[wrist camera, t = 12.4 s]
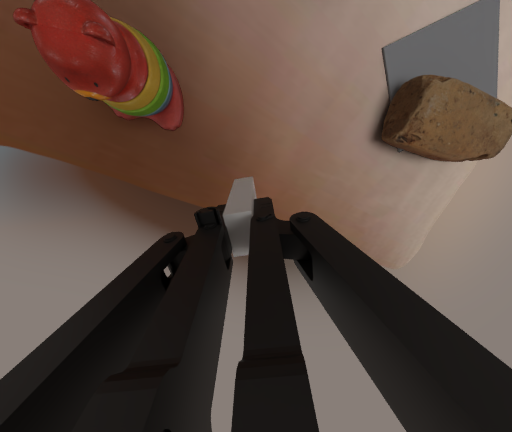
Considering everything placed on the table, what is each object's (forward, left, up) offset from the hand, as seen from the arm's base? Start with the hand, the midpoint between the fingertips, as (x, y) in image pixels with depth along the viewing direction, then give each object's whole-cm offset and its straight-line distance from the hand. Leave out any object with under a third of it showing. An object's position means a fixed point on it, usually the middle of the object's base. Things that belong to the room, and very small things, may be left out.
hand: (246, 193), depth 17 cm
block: (+2, +28, -17) cm, 33 cm away
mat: (+2, +40, -22) cm, 45 cm away
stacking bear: (-16, -8, -22) cm, 28 cm away
